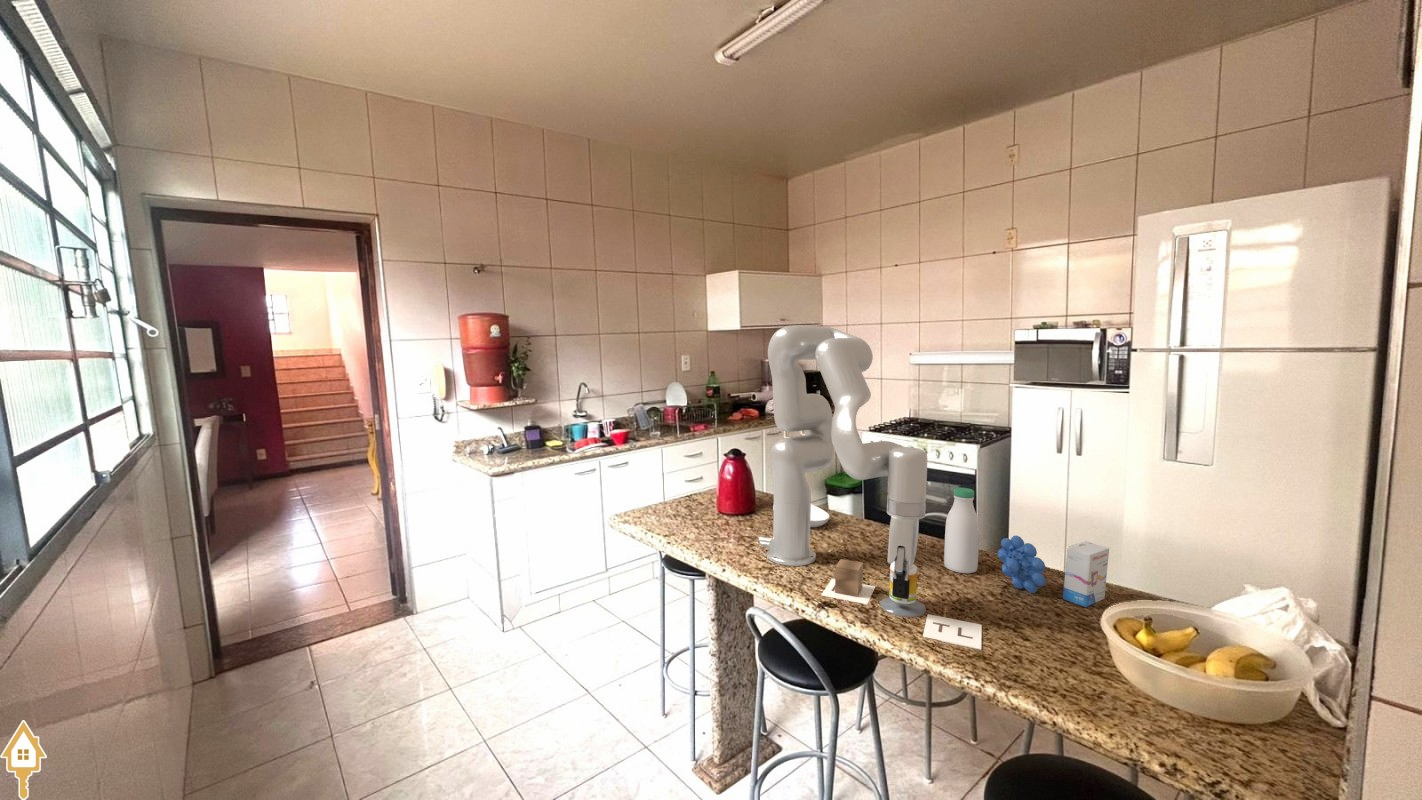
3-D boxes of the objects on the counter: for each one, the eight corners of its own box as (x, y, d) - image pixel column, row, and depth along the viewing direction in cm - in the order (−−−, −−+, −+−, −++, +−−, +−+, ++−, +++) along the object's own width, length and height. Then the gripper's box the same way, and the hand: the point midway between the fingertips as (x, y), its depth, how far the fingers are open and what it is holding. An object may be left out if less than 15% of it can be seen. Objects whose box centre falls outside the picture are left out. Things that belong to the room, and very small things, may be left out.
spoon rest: (837, 528, 172) (837, 505, 171) (805, 533, 166) (806, 510, 166) (791, 508, 193) (792, 487, 192) (762, 512, 187) (762, 491, 187)
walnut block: (835, 592, 125) (835, 566, 125) (840, 584, 130) (840, 559, 129) (857, 597, 123) (858, 570, 123) (862, 588, 128) (862, 562, 127)
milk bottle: (981, 575, 136) (985, 494, 134) (947, 572, 137) (950, 492, 135) (973, 563, 143) (976, 486, 141) (940, 561, 145) (944, 484, 143)
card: (922, 637, 107) (922, 636, 106) (927, 615, 115) (927, 613, 115) (981, 650, 102) (981, 648, 102) (981, 625, 111) (981, 624, 111)
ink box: (1086, 608, 119) (1090, 554, 117) (1061, 599, 123) (1065, 546, 122) (1106, 599, 123) (1110, 546, 122) (1081, 590, 127) (1084, 539, 126)
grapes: (984, 582, 132) (986, 532, 130) (1004, 577, 134) (1006, 528, 133) (1030, 603, 121) (1033, 548, 120) (1051, 597, 124) (1054, 544, 123)
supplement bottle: (914, 594, 121) (915, 550, 120) (917, 605, 115) (919, 560, 114) (887, 592, 122) (889, 548, 121) (890, 603, 116) (892, 557, 116)
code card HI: (820, 596, 124) (820, 594, 124) (832, 579, 133) (832, 578, 133) (867, 605, 120) (867, 604, 120) (875, 587, 129) (875, 586, 129)
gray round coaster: (877, 612, 116) (877, 610, 116) (884, 595, 125) (884, 593, 125) (923, 621, 113) (923, 619, 113) (927, 603, 121) (927, 601, 121)
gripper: (893, 495, 126) (890, 573, 128) (880, 516, 111) (877, 604, 112) (929, 499, 123) (925, 579, 124) (920, 521, 107) (916, 612, 109)
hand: (902, 590), depth 118 cm, fingers closed on supplement bottle, 5 cm apart
